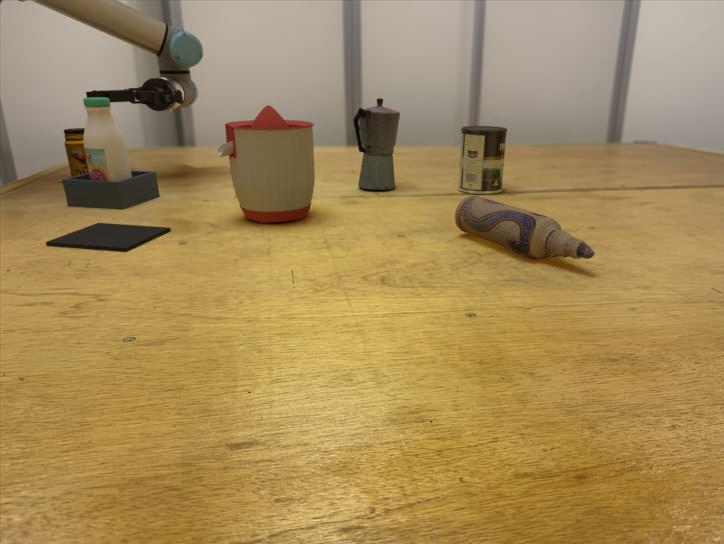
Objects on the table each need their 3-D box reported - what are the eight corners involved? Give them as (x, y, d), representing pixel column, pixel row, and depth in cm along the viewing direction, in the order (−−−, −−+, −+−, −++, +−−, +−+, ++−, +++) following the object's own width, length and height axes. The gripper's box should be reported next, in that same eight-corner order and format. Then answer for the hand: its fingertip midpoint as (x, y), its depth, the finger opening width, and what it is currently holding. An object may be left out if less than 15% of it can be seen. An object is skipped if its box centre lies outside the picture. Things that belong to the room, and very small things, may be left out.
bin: (67, 205, 111) (61, 179, 108) (109, 193, 122) (104, 169, 120) (122, 209, 108) (117, 182, 106) (159, 196, 120) (155, 171, 118)
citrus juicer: (217, 212, 107) (204, 103, 99) (303, 204, 114) (297, 102, 107) (234, 232, 94) (221, 109, 86) (330, 221, 101) (325, 107, 94)
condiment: (90, 182, 133) (79, 130, 128) (57, 181, 133) (45, 130, 129) (108, 177, 139) (98, 127, 135) (76, 176, 140) (66, 127, 135)
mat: (46, 245, 86) (45, 241, 86) (98, 225, 97) (98, 222, 97) (126, 251, 84) (125, 247, 84) (171, 230, 95) (170, 227, 94)
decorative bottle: (450, 235, 94) (452, 196, 91) (483, 229, 98) (486, 192, 95) (569, 280, 74) (576, 232, 72) (605, 271, 78) (613, 225, 76)
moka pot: (410, 185, 134) (411, 97, 126) (376, 196, 122) (375, 100, 114) (377, 181, 138) (376, 96, 131) (341, 191, 126) (338, 99, 118)
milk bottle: (129, 193, 120) (112, 96, 112) (140, 200, 115) (122, 98, 107) (90, 198, 115) (69, 97, 108) (99, 205, 110) (78, 99, 102)
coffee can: (501, 186, 133) (506, 126, 128) (502, 195, 124) (507, 130, 119) (459, 185, 135) (462, 125, 129) (456, 193, 126) (459, 129, 120)
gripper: (214, 110, 137) (181, 118, 118) (115, 109, 138) (66, 117, 118) (210, 78, 134) (176, 80, 115) (109, 77, 135) (58, 79, 115)
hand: (120, 98), depth 116 cm, fingers open, 13 cm apart
